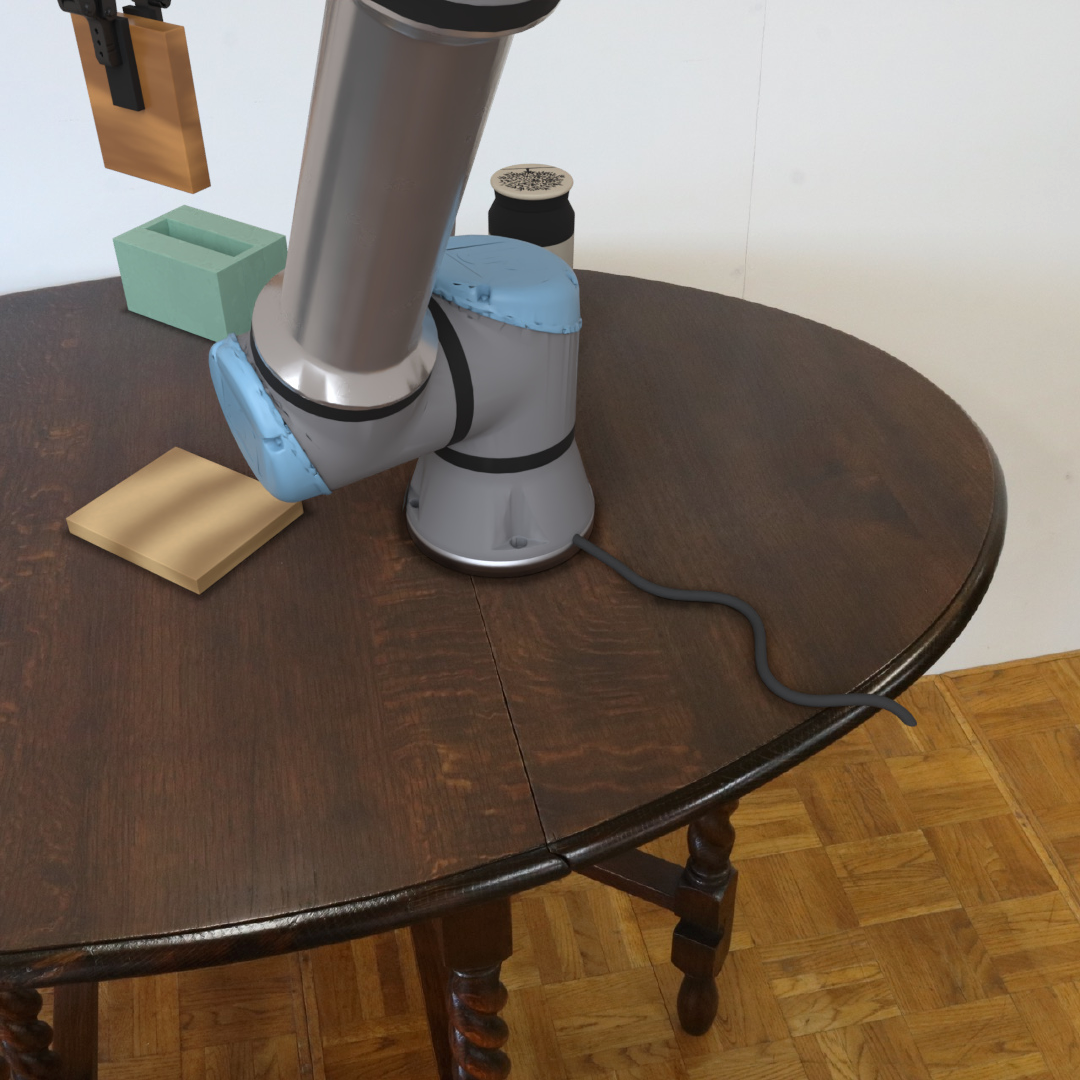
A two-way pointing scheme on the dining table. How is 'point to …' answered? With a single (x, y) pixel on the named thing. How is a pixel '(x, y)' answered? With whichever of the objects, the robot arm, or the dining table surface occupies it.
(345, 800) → the dining table surface
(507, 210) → the travel mug
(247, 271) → the toaster
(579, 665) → the dining table surface
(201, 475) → the board
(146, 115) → the toast
